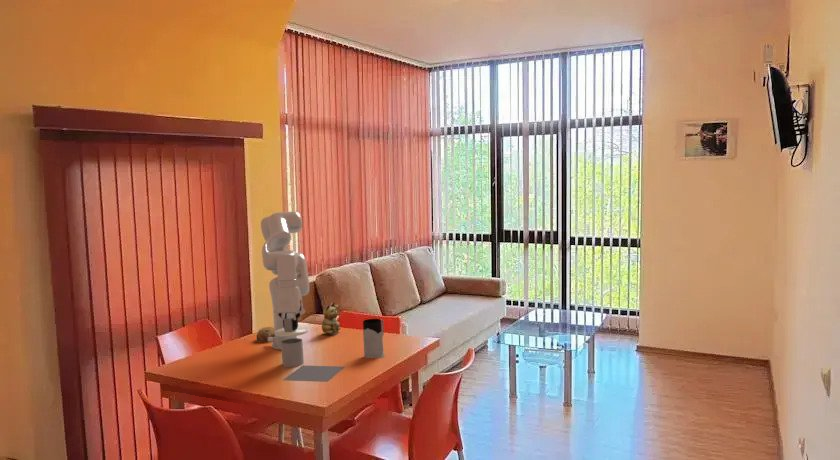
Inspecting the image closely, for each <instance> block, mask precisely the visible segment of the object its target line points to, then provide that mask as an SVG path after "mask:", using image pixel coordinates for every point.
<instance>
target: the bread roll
mask: <svg viewBox="0 0 840 460" xmlns="http://www.w3.org/2000/svg"><path fill="white" fill-rule="evenodd" d="M274 332H275V331H274V327H271V326H266V327H261V328H260V329H259V330H258V331H257V333H256V342H257V341H260V342H259V343H263V342H266V343H269V342H268V337H275V334H274Z"/></svg>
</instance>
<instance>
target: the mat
mask: <svg viewBox="0 0 840 460" xmlns="http://www.w3.org/2000/svg"><path fill="white" fill-rule="evenodd" d="M344 368H346V366H341V365H340V366H337V365H335V366H334V365H333V366H332V365H303V364H302V365H300V367H298V368H297V369H296V370H295V371H293V372H292V373H290V374H289V375H288V376H286V377H285V378H284V379H282V381H288V382H289V381H293V382H298V381H299V382H301V381H302V382H329V381H330V380H332V379H333V378H334V377H335V376H337V375H338V374H339V373H340V372H341V371H342V370H343V369H344Z"/></svg>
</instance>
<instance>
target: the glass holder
mask: <svg viewBox="0 0 840 460" xmlns="http://www.w3.org/2000/svg"><path fill="white" fill-rule="evenodd" d="M362 328H363V329H362V330H363V331H362V332H363V351H364V354H363V358H367V359H383V358H384V357H386V355H385V353H384V340H383V337H384V332H385V323H384V320H383V319H381V318H370V319H369V318H368V319H364V320H363V321H362Z"/></svg>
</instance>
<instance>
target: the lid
mask: <svg viewBox="0 0 840 460" xmlns="http://www.w3.org/2000/svg"><path fill="white" fill-rule="evenodd" d="M292 320H293V317H288V318H286V319H284V328H285V330H284V328H282V329H278V330H276V331H275V332H274V334H275V336H278V337H292V336H297V337H298V336H302V335H305V334H307V333H308V328H307V327H305V326H298V327H297V329H296V330H293V326H292Z"/></svg>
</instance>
